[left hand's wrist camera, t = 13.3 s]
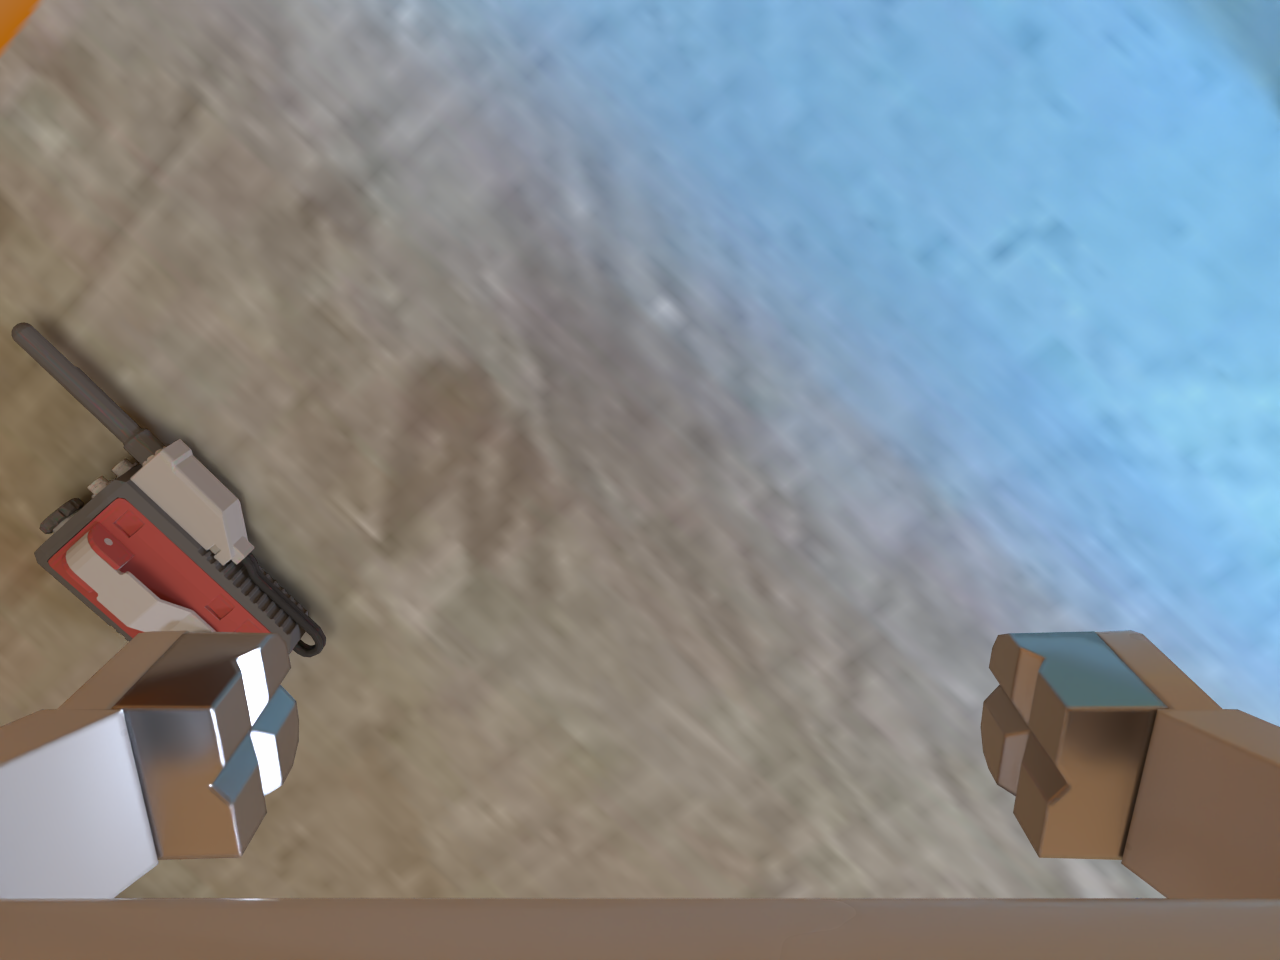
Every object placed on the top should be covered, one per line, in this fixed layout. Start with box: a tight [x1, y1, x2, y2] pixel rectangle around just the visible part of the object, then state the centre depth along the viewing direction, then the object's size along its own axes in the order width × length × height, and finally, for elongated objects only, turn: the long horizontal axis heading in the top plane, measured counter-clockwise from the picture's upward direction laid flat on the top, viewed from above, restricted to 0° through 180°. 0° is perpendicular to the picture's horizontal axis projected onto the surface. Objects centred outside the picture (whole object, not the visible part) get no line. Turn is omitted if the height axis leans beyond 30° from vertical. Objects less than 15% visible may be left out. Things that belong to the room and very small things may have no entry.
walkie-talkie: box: [12, 323, 326, 657], centre depth 42 cm, size 9×4×20 cm
